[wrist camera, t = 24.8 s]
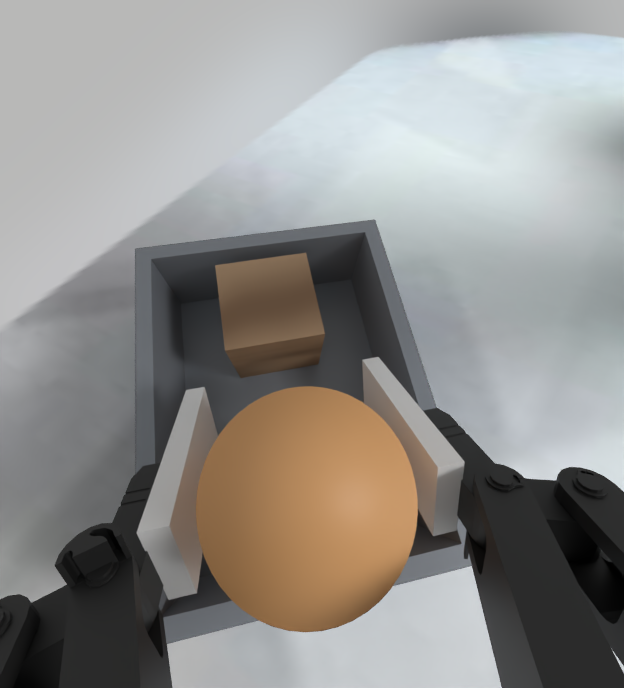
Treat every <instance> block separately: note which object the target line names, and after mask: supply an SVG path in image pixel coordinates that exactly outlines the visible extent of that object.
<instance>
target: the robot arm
mask: <svg viewBox="0 0 624 688" xmlns="http://www.w3.org/2000/svg"><path fill="white" fill-rule="evenodd" d="M362 368H363V391H364V404H366V405H367V406H368V407H370V408H371V409H373V410H374V411H375V412H376V413H377V414H378V415H379V416H380V417H381V418H382V419H383V420H384V421H385V422H386V423H387V424H388V425H389V426H390V428H391V429H392V430H393V432H394V433H395V435H396V436H397V438H398V439H399V441H400V443H401V444H402V446H403V448H404V450H405V452H406V454H407V457H408V459H409V462H410V464H411V467H412V471H413V475H414V479H415V483H416V490H417V499H418V510H419V512H420V513H421V515H422V517H423V519H424V521H425V523H426V524H427V526H428V528H429V530H430V532H431V534H432V535H433V536H436V535H440V534H444V533H449V532H453V531H457V523H458V518H459V519H460V521H461V522H462V524H463V525H464V527H465V528H466V530H467V531H466V538H465V545H464V559H468V555H469V556H470V560H471V564H472V568H473V572H474V576H475V580H476V584H477V588H478V592H479V596H480V600H481V604H482V608H483V613H484V617H485V621H486V625H487V629H488V633H489V637H490V641H491V645H492V649H493V653H494V657H495V661H496V665H497V669H498V674H499V678H500V682H501V686H502V688H624V673H623V671H622V669H621V667H620V665H619V663H618V661H617V659H616V657H615V655H614V653H615V654H616V656H617V657H618V658H619V660H620V661H621V663H622V664H623V665H624V492H623V491H622V490H621V489H620V488H619V487H618V486H616V485H615V484H614V483H613V482H611V481H610V480H609V479H607V478H606V477H604V476H602V475H600V474H598V473H596V472H594V471H591V470H587V469H583V468H577V467H569V468H566V469H563V470H561V472H560V473H559V474H558V477H557V480H556V481H553V480H536V479H526V478H523V476H522V475H521V474H519V473H518V472H516V471H515V470H514V469H511V468H509V467H507V466H504V465H500V464H495V463H494V462H493V461H492V460H491V459H490V458H489V457H488V456H487V455H486V454H485V452H484V451H483V450H482V449H481V448H480V447H479V446H478V445H477V444H476V443H475V442H474V441H473V440H472V439H471V437H470V436H469V435H468V434H466V433H465V431H464V430H463V429H462V428H461V427H460V426H458V424H457V422H456V421H455V420H454V419H453V418H452V417H451V416H450V415H449V414H447V413H445V412H443V411H442V410H440V409H438V408H433V409H428V410H423V411H422V409H421V408H420V407H419V406H418V404H417V403H416V402H415V401H414V400H413V398H412V397H411V396H410V395H409V393H408V392H407V391H406V390H405V389H404V387H403V386H402V385H401V384H400V383H399V381H398V380H397V379H396V378H395V376H394V375H393V374H392V373H391V372H390V370H389V369H388V368H387V367H386V365H385V364H384V363H383V362H382V361H381V359H380V358H379V357H375V358H369V359H363V360H362ZM217 437H218V434H217V430H216V427H215V423H214V419H213V416H212V412H211V409H210V405H209V401H208V398H207V394H206V390H205V387H201V388H195V389H189V390H186V392H185V395H184V397H183V400H182V403H181V406H180V409H179V412H178V415H177V418H176V421H175V423H174V426H173V429H172V432H171V435H170V438H169V441H168V444H167V446H166V449H165V452H164V455H163V458H162V461H161V463H156V464H150V465H145V466H142V468H141V469H140V470H139V471H138V472H137V473H136V474H135V475H134V477H133V478H132V479H131V481H130V483H129V486H128V488H127V490H126V495H124V497H123V500H122V502H121V507H119V509H118V511H117V513H116V516H115V518H114V520H113V523H106V524H99V525H96V526H93V527H90V528H88V529H87V530H85V531H83V532H82V533H80V534H78V535H77V536H76V537H75V538H74V539H72V540H71V541H70V542H69V543H68V544H67V545H66V546H65V548H64V549H63V550H62V552H61V553H60V554H59V556H58V559H57V561H56V564H55V567H56V569H57V570H58V571H59V573H60V574H61V576H62V577H63V579H64V580H65V582H66V583H67V585H66V586H64V587H62V588H60V589H58V590H56V591H54V592H52V593H50V594H48V595H46V596H44V597H42V598H40V599H38V600H36V601H34V602H32V603H31V602H30V601H29V599H28V598H27V597H25V596H22V595H20V594H18V595H12V596H7V597H5V598H3V599H1V600H0V688H172V682H171V674H170V666H169V658H168V651H167V643H166V635H165V628H164V620H163V615H162V613H161V610H160V608H159V603H160V599H161V594H162V590H163V589H164V591H165V593H166V596H167V598H168V600H170V599H175V598H179V597H183V596H187V595H191V594H195V593H197V589H198V582H199V575H200V568H201V561H202V554H203V551H202V548H201V545H200V541H199V536H198V530H197V523H196V500H197V490H198V485H199V480H200V475H201V472H202V469H203V466H204V463H205V460H206V458H207V456H208V454H209V451H210V449H211V447H212V445H213V444H214V442H215V441H216V439H217ZM611 648H612V649H611ZM612 650H613V651H614V653H613V651H612Z"/></svg>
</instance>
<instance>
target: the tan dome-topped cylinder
mask: <svg viewBox="0 0 624 688" xmlns="http://www.w3.org/2000/svg"><path fill="white" fill-rule="evenodd" d="M417 516H418V499H417V490H416V483H415V479H414V475H413V471H412V467H411V464H410V462H409V459H408V457H407V454H406V452H405V450H404V448H403V446H402V444H401V443H400V441H399V439H398V438H397V436H396V435H395V433H394V432H393V430H392V429H391V428H390V426H389V425H388V424H387V423H386V422H385V421H384V420H383V419H382V418H381V417H380V416H379V415H378V414H377V413H376V412H375V411H374V410H373V409H371V408H370V407H368V406H367V405H366V404H364V403H363V402H361V401H359V400H358V399H356V398H354V397H352V396H350V395H348V394H345V393H342V392H339V391H337V390H332V389H328V388H323V387H313V386H304V387H293V388H287V389H283V390H280V391H276V392H273V393H271V394H268V395H266V396H264V397H261V398H260V399H258V400H256V401H254V402H253V403H251V404H249V405H248V406H247V407H246V408H244V409H243V410H242V411H240V412H239V413H238V414H237V415H236V416H235V417H234V418H233V419H232V420H231V421H230V422H229V423H228V424H227V425H226V427H225V428H224V429H223V430H222V432H221V433H220V434H219V436H218V437H217V439H216V441H215V442H214V444H213V445H212V447H211V449H210V451H209V454H208V456H207V458H206V460H205V463H204V466H203V469H202V472H201V475H200V480H199V485H198V490H197V500H196V523H197V530H198V536H199V541H200V545H201V548H202V551H203V555H204V558H205V560H206V562H207V564H208V567H209V569H210V571H211V573H212V574H213V576H214V578H215V579H216V581H217V583H218V584H219V586H220V587H221V588H222V590H223V591H224V592H225V593H226V594H227V596H228V597H229V598H230V599H231V600H232V601H233V602H234V603H235V604H236V605H238V606H239V607H240V608H241V609H242V610H243V611H245V612H246V613H248V614H249V615H251V616H252V617H254V618H256V619H257V620H259V621H261V622H264V623H266V624H268V625H270V626H273V627H277V628H281V629H284V630H288V631H298V632H313V631H323V630H327V629H332V628H336V627H339V626H341V625H344V624H346V623H348V622H351V621H353V620H355V619H356V618H358V617H360V616H361V615H363V614H365V613H366V612H368V611H369V610H370V609H371V608H372V607H374V606H375V605H376V604H377V603H378V602H379V601H380V600H381V599H382V598H383V597H384V596H385V595H386V594H387V593H388V591H389V590H390V589H391V588H392V586H393V585H394V583H395V582H396V580H397V579H398V577H399V576H400V574H401V572H402V570H403V568H404V566H405V564H406V562H407V560H408V557H409V554H410V552H411V549H412V546H413V542H414V537H415V533H416V527H417Z"/></svg>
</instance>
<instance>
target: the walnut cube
mask: <svg viewBox="0 0 624 688" xmlns="http://www.w3.org/2000/svg"><path fill="white" fill-rule="evenodd" d="M215 268H216V276H217V285H218V294H219V302H220V311H221V320H222V328H223V337H224V346H225V351H226V353H227V355H228V357H229V358H230V360H231V362H232V364H233V365H234V367H235V369H236V371H237V372H238V374H239V376H240V378H245V377H250V376H256V375H261V374H267V373H272V372H278V371H284V370H289V369H295V368H300V367H306V366H311V365H317V364H319V360H320V355H321V350H322V346H323V341H324V337H325V331H324V327H323V323H322V318H321V314H320V310H319V306H318V301H317V297H316V293H315V289H314V284H313V280H312V276H311V272H310V267H309V263H308V259H307V255H306V253H300V254H293V255H286V256H278V257H271V258H264V259H257V260H249V261H242V262H235V263H228V264H220V265H215Z"/></svg>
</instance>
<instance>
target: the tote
mask: <svg viewBox="0 0 624 688" xmlns="http://www.w3.org/2000/svg"><path fill="white" fill-rule="evenodd" d="M300 253H306V255H307V259H308V263H309V267H310V272H311V276H312V280H313V284H314V289H315V293H316V297H317V301H318V306H319V310H320V314H321V318H322V323H323V327H324V331H325V337H324V341H323V346H322V350H321V355H320V360H319V364H317V365H311V366H306V367H300V368H295V369H289V370H284V371H278V372H272V373H267V374H261V375H256V376H250V377H245V378H240V376H239V374H238V372H237V371H236V369H235V367H234V365H233V364H232V362H231V360H230V358H229V357H228V355H227V353H226V351H225V346H224V337H223V328H222V320H221V311H220V302H219V294H218V285H217V276H216V268H215V265H220V264H228V263H235V262H242V261H249V260H257V259H264V258H271V257H278V256H286V255H293V254H300ZM375 357H379V358H380V359H381V361H382V362H383V363H384V364H385V365H386V367H387V368H388V369H389V370H390V372H391V373H392V374H393V375H394V376H395V378H396V379H397V380H398V381H399V383H400V384H401V385H402V386H403V387H404V389H405V390H406V391H407V392H408V393H409V395H410V396H411V397H412V398H413V400H414V401H415V402H416V403H417V404H418V406H419V407H420V408H421V409H422V411H423V410H428V409H433V408H437V407H436V404H435V401H434V398H433V395H432V392H431V389H430V386H429V383H428V380H427V377H426V374H425V371H424V368H423V365H422V362H421V359H420V356H419V353H418V350H417V346H416V343H415V340H414V337H413V334H412V331H411V328H410V325H409V322H408V319H407V316H406V313H405V310H404V307H403V304H402V301H401V298H400V295H399V292H398V289H397V285H396V282H395V279H394V276H393V273H392V270H391V267H390V264H389V261H388V258H387V255H386V252H385V249H384V246H383V243H382V240H381V237H380V234H379V231H378V228H377V224H376V221H375V220H368V221H360V222H351V223H343V224H335V225H327V226H318V227H310V228H302V229H294V230H285V231H277V232H269V233H261V234H252V235H244V236H236V237H228V238H219V239H211V240H203V241H195V242H186V243H178V244H170V245H162V246H153V247H145V248H137V249H135V406H136V473H137V472H138V471H139V470H140V469H141V468H142V466H145V465H150V464H156V463H161V461H162V458H163V455H164V452H165V449H166V446H167V444H168V441H169V438H170V435H171V432H172V429H173V426H174V423H175V421H176V418H177V415H178V412H179V409H180V406H181V403H182V400H183V397H184V395H185V392H186V390H189V389H195V388H201V387H205V390H206V394H207V398H208V401H209V405H210V409H211V412H212V416H213V419H214V423H215V427H216V430H217V434H218V436H219V434H220V433H221V432H222V430H223V429H224V428H225V427H226V425H227V424H228V423H229V422H230V421H231V420H232V419H233V418H234V417H235V416H236V415H237V414H238V413H239V412H240V411H242V410H243V409H244V408H246V407H247V406H248V405H249V404H251V403H253V402H254V401H256V400H258V399H260V398H261V397H264V396H266V395H268V394H271V393H273V392H276V391H280V390H283V389H287V388H293V387H304V386H313V387H323V388H328V389H332V390H337V391H339V392H342V393H345V394H348V395H350V396H352V397H354V398H356V399H358V400H359V401H361V402H363V403H364V391H363V368H362V360H363V359H369V358H375ZM466 531H467V530H466V528H465V527H464V525H463V524H462V522H461V521H460V519H459V518H458V523H457V531H453V532H449V533H444V534H440V535H436V536H433V535H432V534H431V532H430V530H429V528H428V526H427V524H426V523H425V521H424V519H423V517H422V515H421V513H420V512H419V510H418V516H417V527H416V533H415V537H414V542H413V546H412V549H411V552H410V554H409V557H408V560H407V562H406V564H405V566H404V568H403V570H402V572H401V574H400V576H399V577H398V579H397V580H396V582H395V583H394V585H393V586H395V585H399V584H403V583H407V582H411V581H414V580H418V579H422V578H426V577H430V576H434V575H438V574H442V573H446V572H450V571H453V570H457V569H461V568H465V567H469V566H472V564H471V560H470V556H469V555H468V559H464V545H465V538H466ZM159 608H160V610H161V613H162V615H163V620H164V628H165V635H166V643H167V644H168V643H172V642H176V641H180V640H184V639H188V638H192V637H196V636H200V635H204V634H208V633H211V632H215V631H219V630H223V629H227V628H231V627H235V626H239V625H243V624H247V623H250V622H254V621H258V620H257V619H256V618H254V617H252V616H251V615H249V614H248V613H246V612H245V611H243V610H242V609H241V608H240V607H239V606H238V605H236V604H235V603H234V602H233V601H232V600H231V599H230V598H229V597H228V596H227V594H226V593H225V592H224V591H223V590H222V588H221V587H220V586H219V584H218V583H217V581H216V579H215V578H214V576H213V574H212V573H211V571H210V569H209V567H208V564H207V562H206V560H205V558H204V555H203V554H202V561H201V568H200V575H199V582H198V589H197V593H195V594H191V595H187V596H183V597H179V598H175V599H170V600H168V598H167V596H166V593H165V591H164V589H163V590H162V594H161V599H160V603H159Z"/></svg>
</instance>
